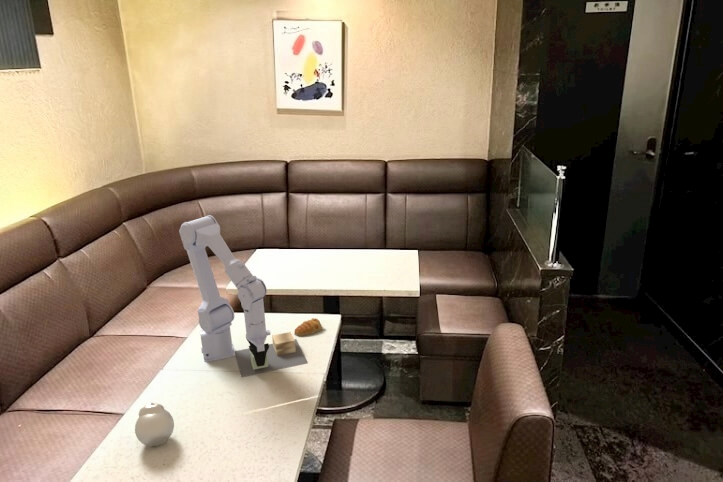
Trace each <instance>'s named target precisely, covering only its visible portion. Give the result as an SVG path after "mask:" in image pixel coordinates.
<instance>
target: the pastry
mask: <svg viewBox="0 0 723 482" xmlns="http://www.w3.org/2000/svg"><path fill="white" fill-rule="evenodd" d="M323 329H324V328H323V325H322V324H321V322H320V320H319V319H318V318H314V317H313V318H311V319H308V320H304V321H302V323H301V324H300V325H298V326H297V327H296V328H295V329H294V336H295V337H305V336H310V335H313V334H316V333H318V332H321V331H322V330H323Z"/></svg>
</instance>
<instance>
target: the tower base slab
mask: <svg viewBox="0 0 723 482" xmlns="http://www.w3.org/2000/svg"><path fill="white" fill-rule="evenodd" d="M272 344H273V347H274V350H275V352H276V355H277V356H278V355H282V354H287V353H292V352H296V349H295V346H294V347H289V348H284V349H279V350H276V348H275V346H274V343H273V342H272Z"/></svg>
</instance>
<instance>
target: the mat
mask: <svg viewBox="0 0 723 482" xmlns="http://www.w3.org/2000/svg"><path fill="white" fill-rule="evenodd" d="M294 340H295V349H296V352H292V353H287V354H282V355H278V356H277V355H276V352H275V350H274V347H273V343H268V344H269V349H268V351H267V358H268V367H264V368H259V369H254V370H253V367H252V363H251V356H250V349H249V347H248V348H244V349H239V350H234V351H235V358H236V363H237V365H238V369H239V374H240V377H241V378H245V377H250V376H254V375H258V374H263V373H268V372H272V371H277V370H282V369H286V368H292V367H296V366H302V365H306V364H309V362H308V360H307V359H306V356H305V354H304V352H303V350H302V348H301V346H300V344H299V342H298V340H297V338H294Z"/></svg>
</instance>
